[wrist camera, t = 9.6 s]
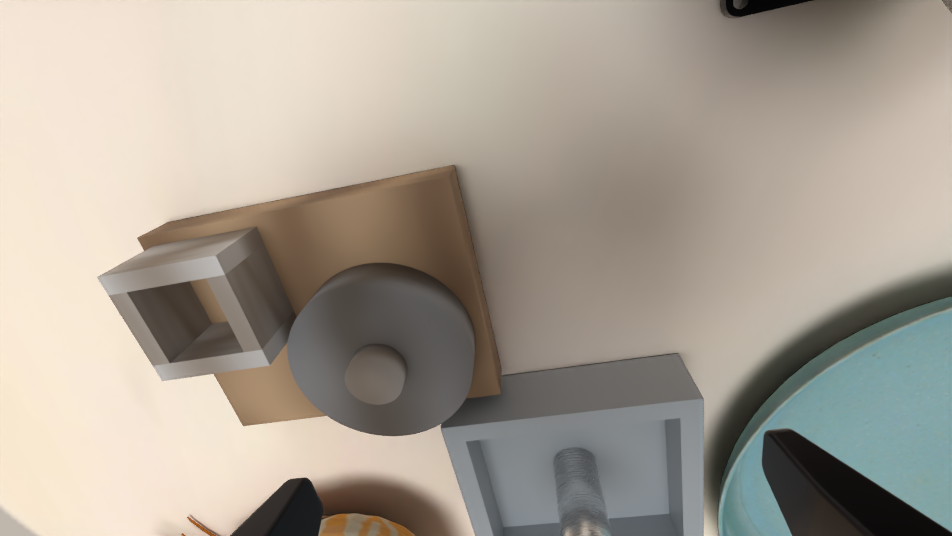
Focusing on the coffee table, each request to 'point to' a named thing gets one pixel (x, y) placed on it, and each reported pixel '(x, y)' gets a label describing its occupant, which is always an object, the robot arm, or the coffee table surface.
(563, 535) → the lock pin
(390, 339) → the pulley block
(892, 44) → the coffee table surface
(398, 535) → the nautilus
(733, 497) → the teal round plate
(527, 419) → the tray
